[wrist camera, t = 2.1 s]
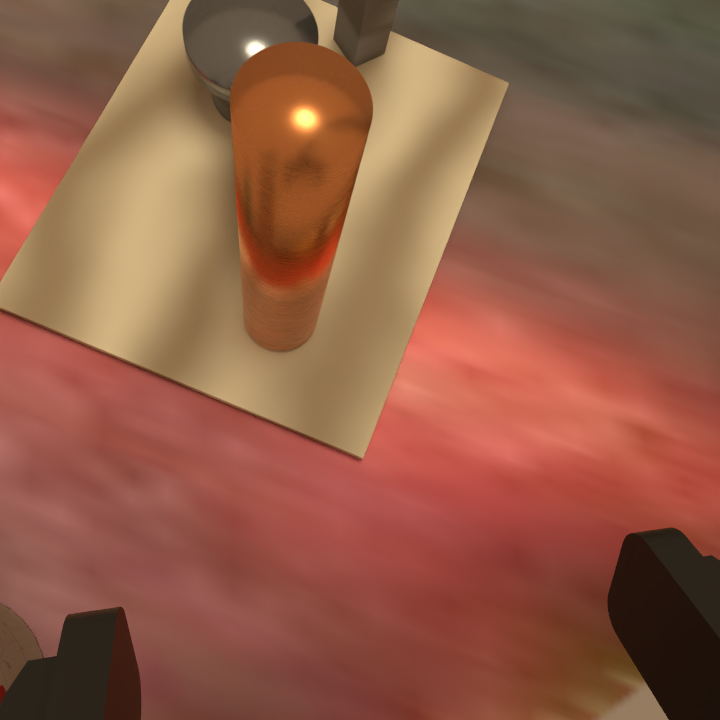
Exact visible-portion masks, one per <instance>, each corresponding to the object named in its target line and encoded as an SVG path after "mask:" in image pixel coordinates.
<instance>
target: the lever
mask: <svg viewBox="0 0 720 720" xmlns="http://www.w3.org/2000/svg"><path fill="white" fill-rule="evenodd" d="M182 33H183V40H184V46H185V53H186V58H187V62H188V64H189V67H190V69H191V71H192V73H193V74H194V76H195V77H196V79H197V80H198V81H199V82H200V83H201V84H202V85H203V86H204V87H205V88H206V89H207V90H208V91H210V92H211V93H213V94H214V95H216V96H217V97H219V98H221V99H223V100H226V101H229V102H230V110H231V126H232V142H233V158H234V173H235V189H236V205H237V220H238V236H239V252H240V268H241V283H242V299H243V315H244V323H245V326H246V329H247V331H248V332H249V334H250V335H251V337H252V338H253V339H254V340H255V341H256V342H257V343H259V344H260V345H262V346H264V347H266V348H269V349H272V350H280V351H282V350H290V349H294V348H296V347H298V346H300V345H302V344H303V343H305V342H306V341H307V340H308V339H309V338H310V337H311V335H312V334H313V332H314V330H315V327H316V325H317V321H318V317H319V314H320V310H321V306H322V303H323V299H324V295H325V292H326V288H327V284H328V281H329V277H330V273H331V270H332V266H333V262H334V259H335V255H336V251H337V248H338V244H339V240H340V237H341V233H342V229H343V226H344V222H345V218H346V215H347V211H348V207H349V204H350V200H351V196H352V193H353V189H354V185H355V182H356V178H357V174H358V171H359V167H360V163H361V160H362V156H363V152H364V149H365V145H366V141H367V138H368V134H369V130H370V127H371V123H372V118H373V101H372V96H371V92H370V90H369V87H368V85H367V83H366V81H365V79H364V77H363V76H362V75H361V73H360V72H359V71H358V69H357V68H356V67H355V66H354V65H353V64H352V63H351V62H349V61H348V60H347V59H346V58H344V57H343V56H341V55H340V54H338V53H337V52H335V51H333V50H331V49H328V48H326V47H323V46H320V45H318V39H319V35H318V27H317V23H316V20H315V17H314V15H313V13H312V11H311V9H310V8H309V6H308V5H307V4H306V2H305V1H304V0H191V1H190V3H189V4H188V6H187V8H186V10H185V14H184V17H183V23H182Z"/></svg>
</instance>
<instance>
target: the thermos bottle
mask: <svg viewBox="0 0 720 720" xmlns="http://www.w3.org/2000/svg"><path fill="white" fill-rule="evenodd" d="M42 658H43V657H42V653H41V651H40V649H39V646H38V644H37V642H36V639H35V637H34V635H33V634H32V633H31V631H30V630H29V628H28V627H27V626H26V624H25V623H24V622H23V620H22V619H20V618H19V617H18V616H17V615H16V614H15V613H14V612H12V611H11V610H10V609H9V608H7V607H6V606H4V605H2V604H0V705H1V701H2V698H3V696H4V695H5V693H6V692H7V690H8V689H9V687H10V686H11V685H12V683H13V682H14V680H15V679H16V677H17V676H18V674H19V673H20V671H21V670H22V668H23V667H24V666H25V664H26V663H27V661H29V660H36V659H42Z"/></svg>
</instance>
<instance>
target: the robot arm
mask: <svg viewBox="0 0 720 720" xmlns="http://www.w3.org/2000/svg"><path fill="white" fill-rule="evenodd" d="M608 612H609V617H610V620H611V623H612V626H613V628H614V631H615V633H616V634H617V636H618V638H619V639H620V641H621V643H622V644H623V646H624V648H625V649H626V651H627V652H628V654H629V656H630V657H631V659H632V661H633V662H634V664H635V665H636V667H637V669H638V670H639V672H640V674H641V675H642V677H643V678H644V680H645V682H646V683H647V685H648V687H649V688H650V690H651V691H652V693H653V695H654V696H655V698H656V700H657V701H658V703H659V705H660V706H661V708H662V709H663V711H664V713H665V714H666V716H667V718H668V719H669V720H720V561H719V560H718V559H716V558H715V557H713V556H712V555H711V556H704V557H703V556H702V555H701V554H700V553H699V551H698V550H697V549H696V548H695V547H694V546H693V544H692V543H691V542H690V541H689V540H688V538H687V537H686V536H685V535H684V534H683V533H682V532H681V531H679V530H677V529H675V528H664V529H658V530H651V531H644V532H637V533H631V534H628V535H627V536H626V537H625V539H624V541H623V544H622V548H621V551H620V555H619V558H618V562H617V565H616V569H615V573H614V576H613V580H612V583H611V587H610V590H609V594H608ZM0 720H141V685H140V676H139V670H138V665H137V661H136V657H135V653H134V649H133V645H132V640H131V636H130V632H129V628H128V624H127V620H126V616H125V612H124V609H123V608H122V607H116V608H109V609H102V610H95V611H88V612H82V613H75V614H69V615H68V616H67V617H66V619H65V621H64V624H63V629H62V633H61V638H60V643H59V648H58V653H57V656H55V657H48V658H42V659H36V660H29V661H27V663H26V664H25V666H24V667H23V668H22V670H21V671H20V673H19V674H18V676H17V677H16V679H15V680H14V682H13V683H12V685H11V686H10V687H9V689H8V690H7V692H6V693H5V695H4V696H3V698H2V701H1V705H0Z"/></svg>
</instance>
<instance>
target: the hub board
mask: <svg viewBox="0 0 720 720" xmlns="http://www.w3.org/2000/svg"><path fill="white" fill-rule="evenodd" d="M190 1H191V0H170V1H169V3H168V4H167V6H166V8H165V9H164V11H163V13H162V14H161V16H160V18H159V19H158V21H157V23H156V24H155V26H154V28H153V29H152V31H151V33H150V34H149V36H148V38H147V39H146V41H145V43H144V44H143V46H142V48H141V49H140V51H139V53H138V54H137V56H136V58H135V59H134V61H133V63H132V64H131V66H130V68H129V69H128V71H127V73H126V74H125V76H124V78H123V79H122V81H121V83H120V84H119V86H118V88H117V89H116V91H115V93H114V94H113V96H112V98H111V99H110V101H109V102H108V104H107V106H106V107H105V109H104V111H103V112H102V114H101V116H100V117H99V119H98V121H97V122H96V124H95V126H94V127H93V129H92V131H91V132H90V134H89V136H88V137H87V139H86V141H85V142H84V144H83V146H82V147H81V149H80V151H79V152H78V154H77V156H76V157H75V159H74V161H73V162H72V164H71V166H70V167H69V169H68V171H67V172H66V174H65V176H64V177H63V179H62V181H61V182H60V184H59V186H58V187H57V189H56V191H55V192H54V194H53V196H52V197H51V199H50V201H49V202H48V204H47V206H46V207H45V209H44V210H43V212H42V214H41V215H40V217H39V219H38V220H37V222H36V224H35V225H34V227H33V229H32V230H31V232H30V234H29V235H28V237H27V239H26V240H25V242H24V244H23V245H22V247H21V249H20V250H19V252H18V254H17V255H16V257H15V259H14V260H13V262H12V264H11V265H10V267H9V269H8V270H7V272H6V274H5V275H4V277H3V279H2V280H1V282H0V310H2V311H4V312H7V313H9V314H11V315H14V316H16V317H19V318H21V319H23V320H26V321H28V322H31V323H33V324H36V325H38V326H40V327H43V328H45V329H48V330H50V331H52V332H55V333H57V334H60V335H62V336H64V337H67V338H69V339H72V340H74V341H76V342H79V343H81V344H84V345H86V346H88V347H91V348H93V349H96V350H98V351H101V352H103V353H105V354H108V355H110V356H113V357H115V358H117V359H120V360H122V361H125V362H127V363H129V364H132V365H134V366H137V367H139V368H141V369H144V370H146V371H149V372H151V373H153V374H156V375H158V376H161V377H163V378H166V379H168V380H170V381H173V382H175V383H178V384H180V385H182V386H185V387H187V388H190V389H192V390H194V391H197V392H199V393H202V394H204V395H206V396H209V397H211V398H214V399H216V400H219V401H221V402H223V403H226V404H228V405H231V406H233V407H235V408H238V409H240V410H243V411H245V412H247V413H250V414H252V415H255V416H257V417H259V418H262V419H264V420H267V421H269V422H271V423H274V424H276V425H279V426H281V427H284V428H286V429H288V430H291V431H293V432H296V433H298V434H300V435H303V436H305V437H308V438H310V439H312V440H315V441H317V442H320V443H322V444H324V445H327V446H329V447H332V448H334V449H336V450H339V451H341V452H344V453H346V454H349V455H351V456H353V457H356V458H358V459H361V460H362V459H363V457H364V455H365V452H366V450H367V447H368V445H369V442H370V439H371V437H372V434H373V432H374V429H375V427H376V424H377V421H378V419H379V416H380V414H381V411H382V409H383V406H384V403H385V401H386V398H387V396H388V393H389V391H390V388H391V385H392V383H393V380H394V378H395V375H396V372H397V370H398V367H399V365H400V362H401V360H402V357H403V354H404V352H405V349H406V347H407V344H408V342H409V339H410V336H411V334H412V331H413V329H414V326H415V324H416V321H417V318H418V316H419V313H420V311H421V308H422V306H423V303H424V300H425V298H426V295H427V293H428V290H429V288H430V285H431V282H432V280H433V277H434V275H435V272H436V270H437V267H438V264H439V262H440V259H441V257H442V254H443V252H444V249H445V246H446V244H447V241H448V239H449V236H450V234H451V231H452V228H453V226H454V223H455V221H456V218H457V216H458V213H459V210H460V208H461V205H462V203H463V200H464V198H465V195H466V192H467V190H468V187H469V185H470V182H471V180H472V177H473V174H474V172H475V169H476V167H477V164H478V162H479V159H480V156H481V154H482V151H483V149H484V146H485V143H486V141H487V138H488V136H489V133H490V131H491V128H492V125H493V123H494V120H495V118H496V115H497V113H498V110H499V107H500V105H501V102H502V100H503V97H504V95H505V92H506V89H507V87H508V84H509V83H507V82H505V81H503V80H501V79H498V78H496V77H494V76H491V75H489V74H487V73H485V72H482V71H480V70H478V69H476V68H473V67H471V66H469V65H467V64H464V63H462V62H460V61H457V60H455V59H453V58H451V57H448V56H446V55H444V54H442V53H439V52H437V51H435V50H432V49H430V48H428V47H426V46H423V45H421V44H419V43H417V42H414V41H412V40H410V39H408V38H405V37H403V36H401V35H398V34H396V33H394V32H392V31H391V27H392V23H393V20H394V16H395V12H396V8H397V4H398V0H339V4H338V8H337V7H335V6H333V5H330V4H328V3H326V2H324V1H321V0H304V1H305V2H306V4H307V5H308V6H309V8H310V9H311V11H312V13H313V15H314V17H315V20H316V23H317V27H318V35H319V39H318V45H320V46H323V47H326V48H328V49H331V50H333V51H335V52H337V53H338V54H340V55H341V56H343V57H344V58H346V59H347V60H348V61H349V62H351V63H352V64H353V65H354V66H355V67H356V68H357V69H358V71H359V72H360V73H361V75H362V76H363V77H364V79H365V81H366V83H367V85H368V87H369V90H370V92H371V96H372V101H373V118H372V123H371V127H370V130H369V134H368V138H367V141H366V145H365V149H364V152H363V156H362V160H361V163H360V167H359V171H358V174H357V178H356V182H355V185H354V189H353V193H352V196H351V200H350V204H349V207H348V211H347V215H346V218H345V222H344V226H343V229H342V233H341V237H340V240H339V244H338V248H337V251H336V255H335V259H334V262H333V266H332V270H331V273H330V277H329V281H328V284H327V288H326V292H325V295H324V299H323V303H322V306H321V310H320V314H319V317H318V321H317V325H316V327H315V330H314V332H313V334H312V335H311V337H310V338H309V339H308V340H307V341H306V342H305V343H303V344H302V345H300V346H298V347H296V348H294V349H290V350H282V351H280V350H272V349H269V348H266V347H264V346H262V345H260V344H259V343H257V342H256V341H255V340H254V339H253V338H252V337H251V335H250V334H249V332H248V331H247V329H246V326H245V323H244V315H243V299H242V283H241V268H240V252H239V236H238V220H237V205H236V189H235V173H234V158H233V142H232V126H231V110H230V102H229V101H226V100H223V99H221V98H219V97H217V96H216V95H214V94H213V93H211V92H210V91H208V90H207V89H206V88H205V87H204V86H203V85H202V84H201V83H200V82H199V81H198V80H197V79H196V77H195V76H194V74H193V73H192V71H191V69H190V67H189V64H188V62H187V58H186V53H185V46H184V40H183V33H182V23H183V17H184V14H185V10H186V8H187V6H188V4H189V3H190Z"/></svg>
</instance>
